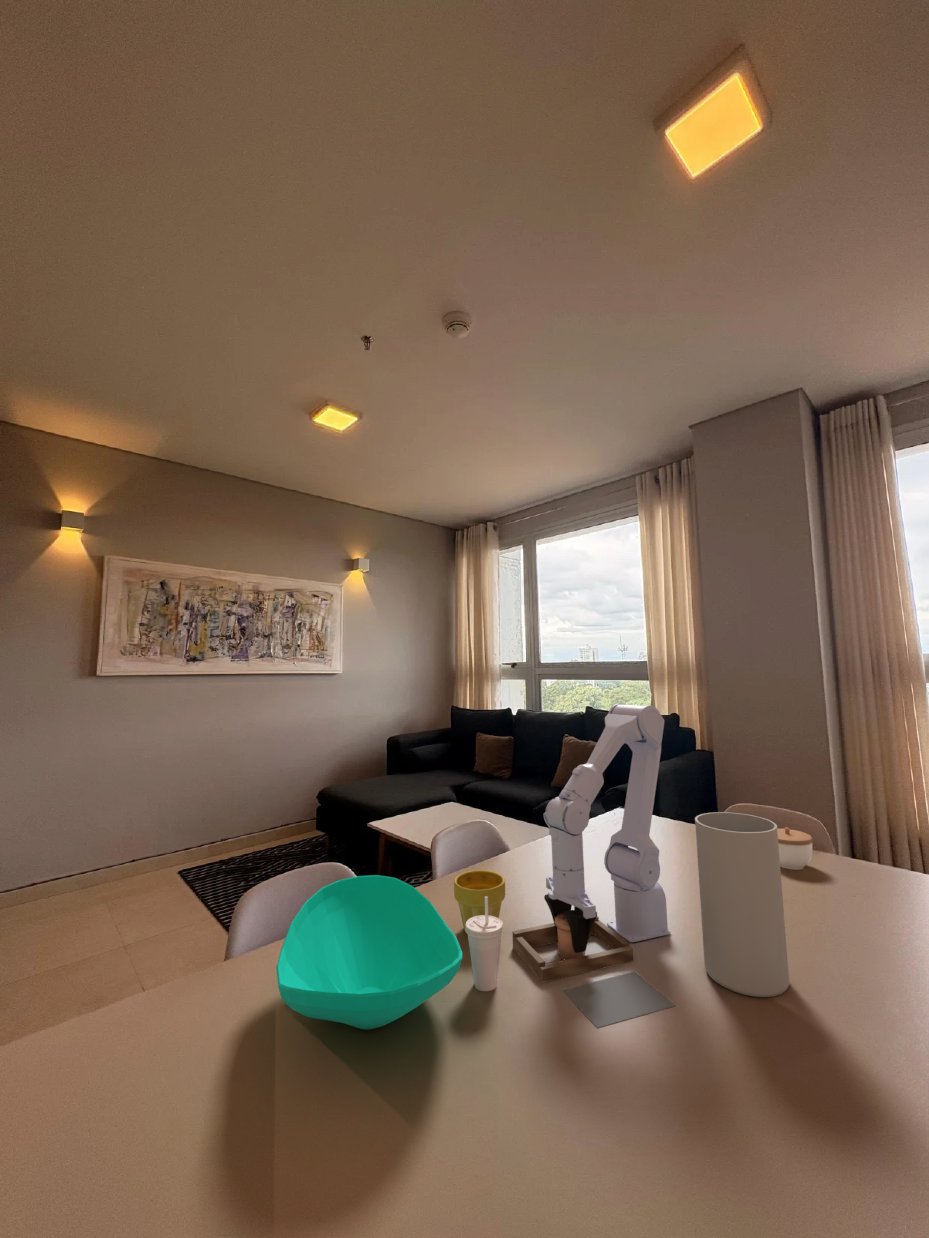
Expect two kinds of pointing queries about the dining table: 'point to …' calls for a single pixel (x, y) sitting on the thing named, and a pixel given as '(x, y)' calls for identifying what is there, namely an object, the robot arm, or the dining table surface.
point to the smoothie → (484, 948)
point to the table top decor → (365, 953)
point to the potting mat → (617, 999)
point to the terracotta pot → (565, 939)
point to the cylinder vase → (742, 903)
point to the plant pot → (479, 893)
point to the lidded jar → (794, 848)
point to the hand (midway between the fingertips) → (571, 943)
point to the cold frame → (557, 970)
